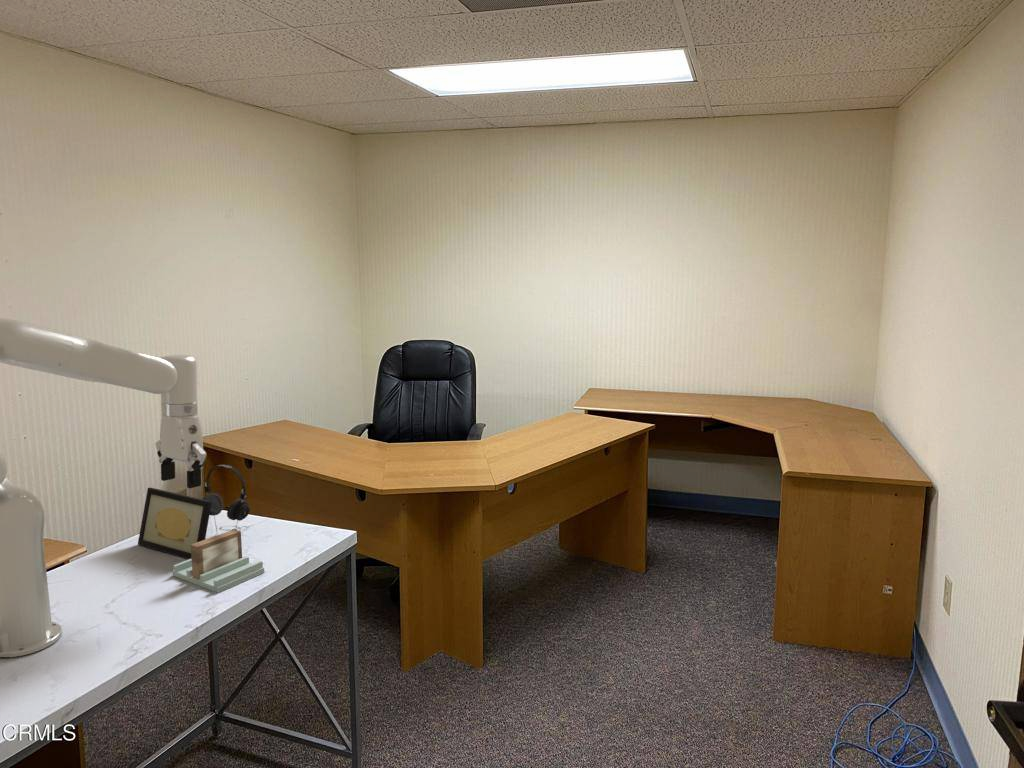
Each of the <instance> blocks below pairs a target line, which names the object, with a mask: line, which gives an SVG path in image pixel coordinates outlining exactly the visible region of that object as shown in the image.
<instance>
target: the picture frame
mask: <svg viewBox="0 0 1024 768" xmlns="http://www.w3.org/2000/svg"><path fill="white" fill-rule="evenodd" d="M211 504H212V501H207V500H203V498H197V497H194V496H190V495H186V494H185V495H184V494H180V493H177V492H174V491H167V490H164V489H159V488H154V487H148V488H147V492H146V495H145V501H144V508H143V512H142V519H141V522H140V523H141V524H140V530H139V536H138V541H137V545H138V546H142V547H146V548H149V549H153V550H155V551H160V552H163V553H167V554H170V555H174V556H178V557H181V558H184V559H187V560H189V559H191V544H194V543H197V542H200V541H202V540H205V539H207V538H206V537H207V531H208V525H209V520H210V516H211V515H210V509H211Z"/></svg>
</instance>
